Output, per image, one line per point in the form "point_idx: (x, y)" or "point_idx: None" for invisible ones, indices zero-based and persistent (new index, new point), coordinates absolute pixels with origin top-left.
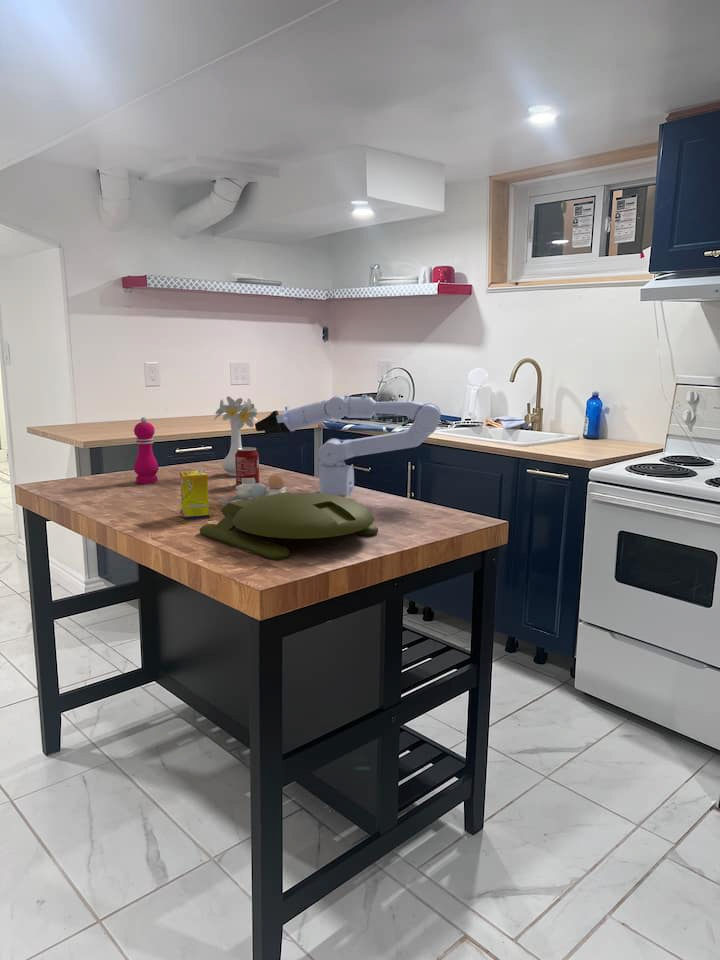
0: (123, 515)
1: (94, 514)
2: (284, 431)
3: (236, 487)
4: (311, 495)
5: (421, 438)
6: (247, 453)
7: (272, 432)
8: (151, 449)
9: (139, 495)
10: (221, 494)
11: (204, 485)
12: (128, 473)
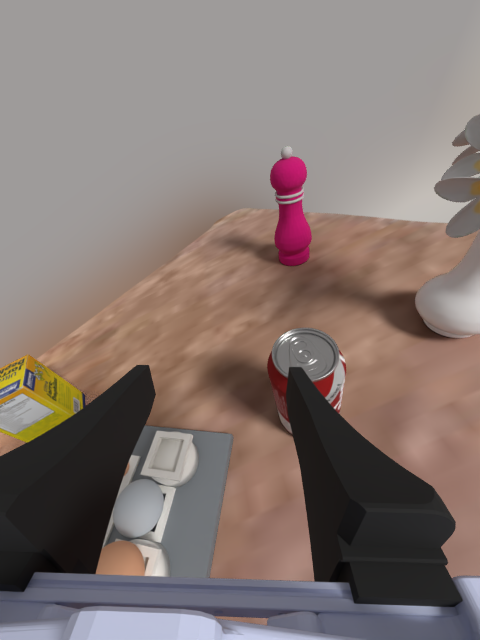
0: (100, 332)
1: (112, 307)
2: (311, 535)
3: (156, 433)
4: None
5: None
6: (275, 373)
7: (293, 435)
8: (291, 214)
9: (211, 291)
10: (236, 384)
11: None
12: (339, 219)
